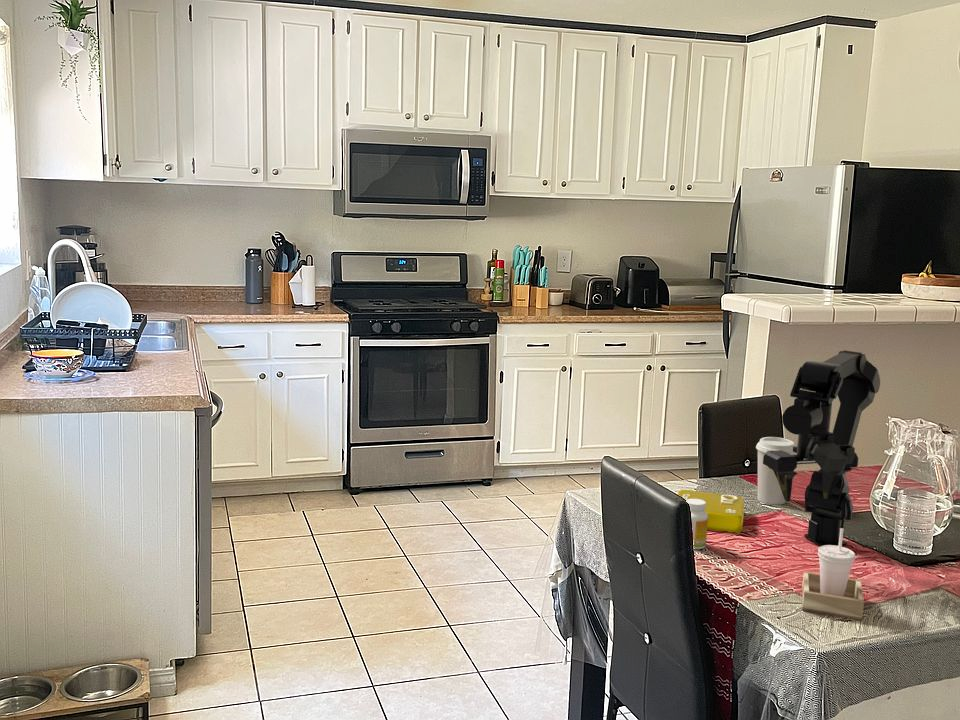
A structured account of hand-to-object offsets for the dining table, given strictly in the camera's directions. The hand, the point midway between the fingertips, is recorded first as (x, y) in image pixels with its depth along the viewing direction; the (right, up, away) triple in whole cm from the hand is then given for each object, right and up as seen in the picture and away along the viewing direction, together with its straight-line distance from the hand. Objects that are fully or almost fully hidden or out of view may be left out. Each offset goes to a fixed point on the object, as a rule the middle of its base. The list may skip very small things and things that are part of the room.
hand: (806, 499), depth 187 cm
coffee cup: (+5, -6, +39) cm, 40 cm away
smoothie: (-2, -16, -17) cm, 24 cm away
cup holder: (-2, -16, -17) cm, 24 cm away
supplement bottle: (-21, -11, +9) cm, 25 cm away
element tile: (-14, -9, +25) cm, 30 cm away
